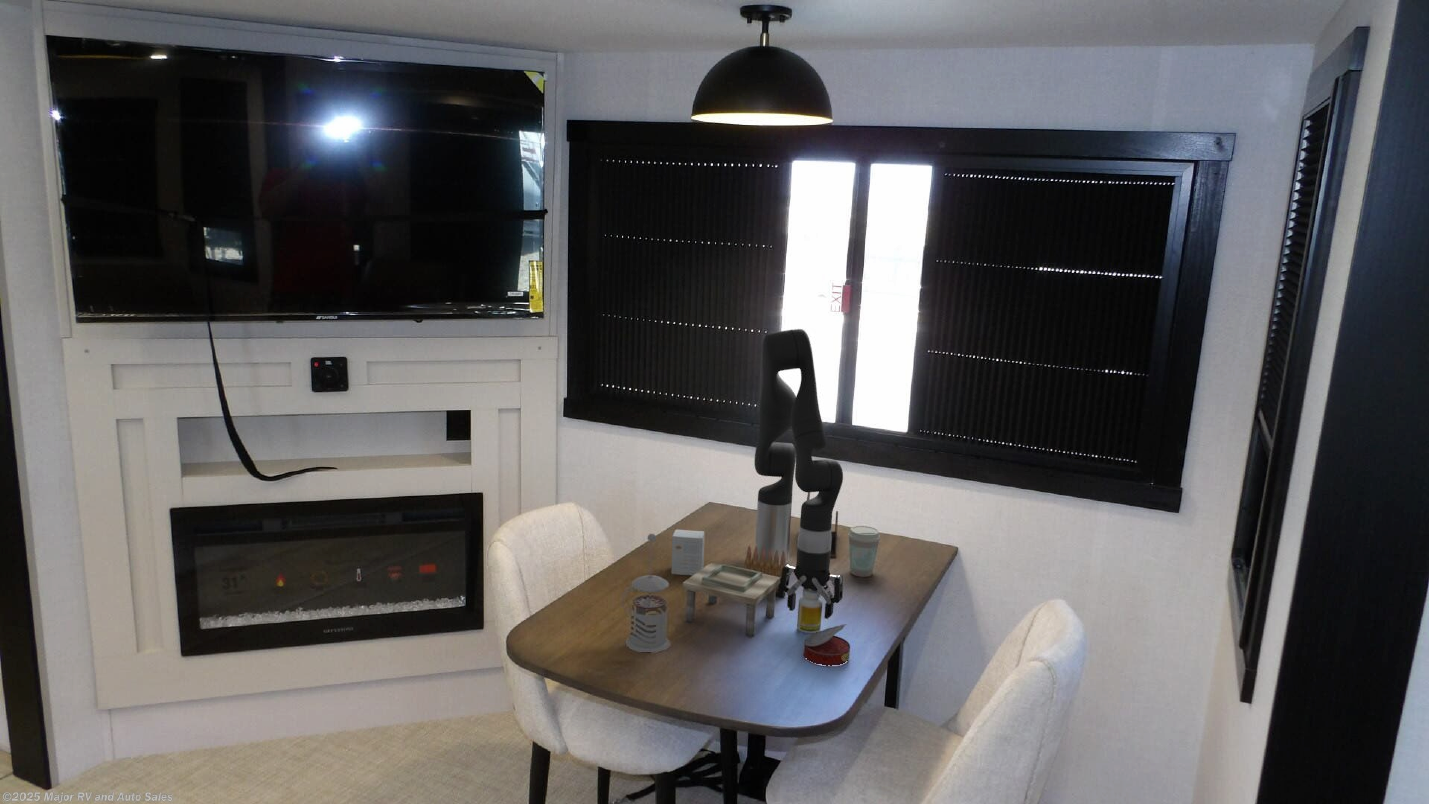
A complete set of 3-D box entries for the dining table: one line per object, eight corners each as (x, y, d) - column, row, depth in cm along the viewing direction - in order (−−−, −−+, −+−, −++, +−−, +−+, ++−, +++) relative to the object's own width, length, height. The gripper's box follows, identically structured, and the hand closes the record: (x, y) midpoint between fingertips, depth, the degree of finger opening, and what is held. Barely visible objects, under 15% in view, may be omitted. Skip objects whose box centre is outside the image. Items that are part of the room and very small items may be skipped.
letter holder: (800, 555, 269) (803, 507, 266) (803, 532, 288) (806, 487, 286) (836, 558, 268) (839, 510, 265) (837, 535, 287) (840, 490, 284)
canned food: (823, 688, 204) (809, 654, 200) (801, 662, 213) (787, 629, 208) (867, 659, 207) (854, 626, 202) (843, 635, 215) (830, 602, 211)
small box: (703, 569, 255) (705, 531, 253) (701, 576, 250) (703, 538, 248) (673, 566, 256) (675, 528, 254) (670, 574, 251) (672, 535, 249)
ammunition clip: (785, 595, 240) (788, 550, 238) (783, 598, 238) (786, 552, 236) (744, 588, 243) (746, 543, 241) (742, 591, 241) (744, 546, 239)
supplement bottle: (792, 626, 223) (795, 587, 221) (812, 623, 225) (815, 584, 223) (804, 635, 218) (807, 596, 216) (824, 632, 220) (827, 592, 218)
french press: (653, 657, 204) (657, 545, 199) (609, 642, 210) (612, 533, 205) (679, 641, 212) (683, 532, 207) (636, 627, 218) (640, 521, 213)
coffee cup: (841, 575, 255) (844, 532, 253) (849, 565, 263) (852, 523, 261) (873, 581, 252) (876, 537, 250) (880, 570, 260) (884, 528, 258)
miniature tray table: (709, 599, 236) (711, 557, 233) (777, 615, 228) (780, 572, 226) (681, 621, 222) (683, 577, 220) (752, 639, 215) (755, 594, 213)
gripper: (849, 547, 218) (844, 614, 221) (790, 535, 224) (786, 601, 227) (839, 557, 211) (833, 626, 214) (778, 545, 217) (774, 612, 220)
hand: (809, 613), depth 220 cm, fingers open, 8 cm apart
